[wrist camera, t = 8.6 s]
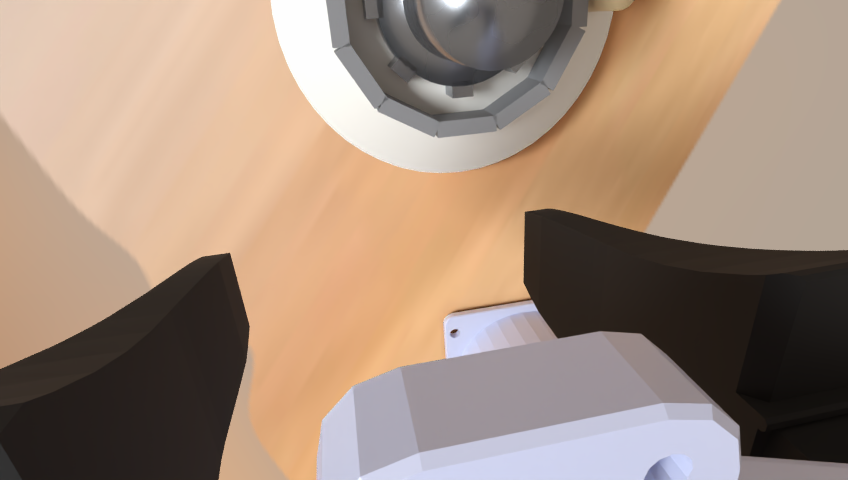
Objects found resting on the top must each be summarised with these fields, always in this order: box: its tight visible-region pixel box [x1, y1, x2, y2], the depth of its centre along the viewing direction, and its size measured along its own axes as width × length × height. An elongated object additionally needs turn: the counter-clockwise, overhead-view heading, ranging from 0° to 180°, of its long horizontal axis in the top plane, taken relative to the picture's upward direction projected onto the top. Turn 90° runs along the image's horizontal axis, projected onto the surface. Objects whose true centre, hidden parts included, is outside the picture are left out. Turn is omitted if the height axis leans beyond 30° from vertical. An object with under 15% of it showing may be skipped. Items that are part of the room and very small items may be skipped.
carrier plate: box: [271, 0, 634, 173], centre depth 18 cm, size 13×13×3 cm
